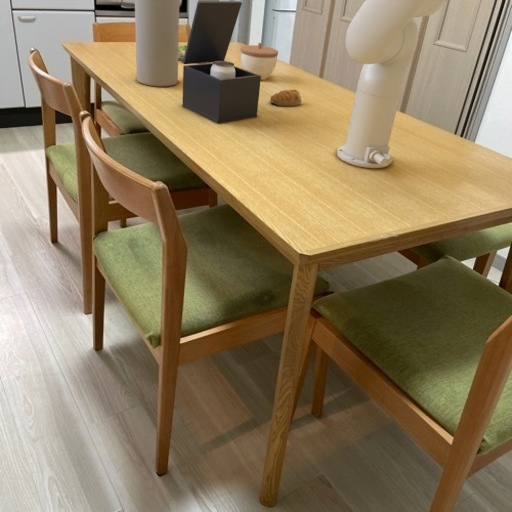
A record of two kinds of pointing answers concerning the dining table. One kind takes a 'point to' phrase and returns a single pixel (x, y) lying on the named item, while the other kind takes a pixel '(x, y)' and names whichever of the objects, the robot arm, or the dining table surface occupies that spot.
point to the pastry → (286, 98)
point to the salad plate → (181, 52)
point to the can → (222, 70)
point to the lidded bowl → (259, 59)
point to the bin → (220, 93)
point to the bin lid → (211, 31)
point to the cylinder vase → (157, 41)
